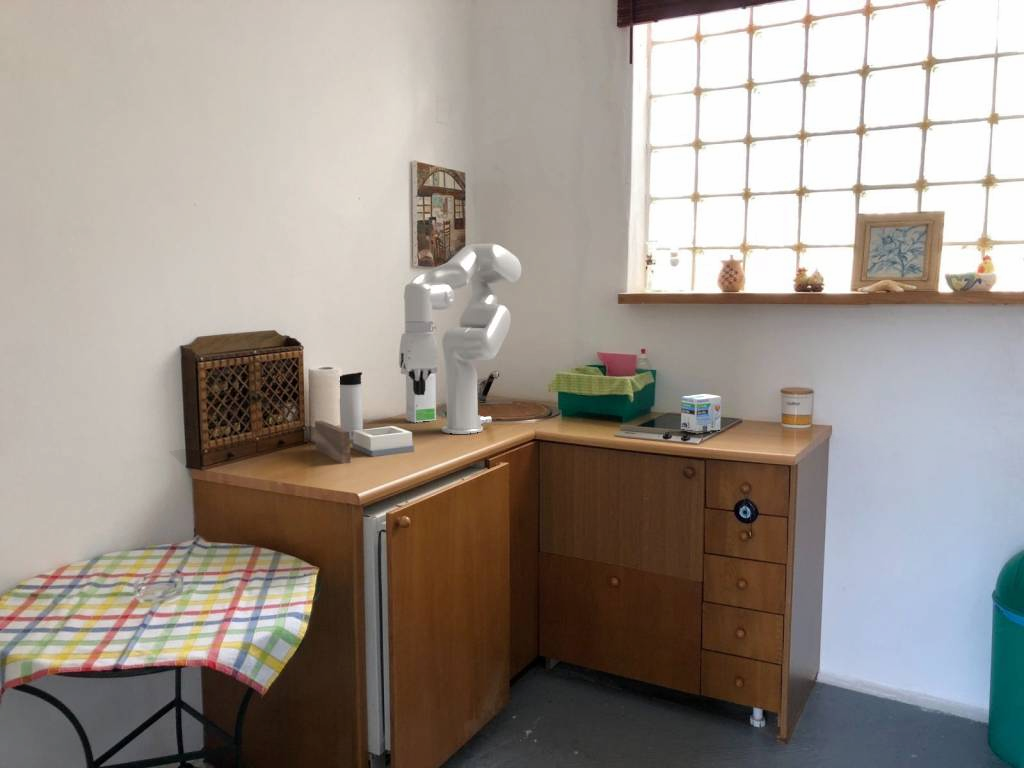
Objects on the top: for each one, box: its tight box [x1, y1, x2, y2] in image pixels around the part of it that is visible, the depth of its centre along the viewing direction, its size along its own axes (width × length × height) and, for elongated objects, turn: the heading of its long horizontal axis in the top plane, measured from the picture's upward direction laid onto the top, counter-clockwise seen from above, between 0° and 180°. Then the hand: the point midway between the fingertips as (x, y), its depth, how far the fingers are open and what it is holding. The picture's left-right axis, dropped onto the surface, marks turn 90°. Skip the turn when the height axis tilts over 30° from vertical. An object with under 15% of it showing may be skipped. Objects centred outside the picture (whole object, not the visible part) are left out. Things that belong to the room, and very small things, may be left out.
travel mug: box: [339, 371, 364, 444], centre depth 228 cm, size 6×7×20 cm
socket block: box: [351, 425, 415, 458], centre depth 216 cm, size 12×14×5 cm
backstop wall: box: [314, 420, 351, 464], centre depth 209 cm, size 2×20×8 cm, turn 33°
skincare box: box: [405, 373, 437, 424], centre depth 262 cm, size 8×7×16 cm
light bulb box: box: [680, 393, 722, 431], centre depth 240 cm, size 11×7×11 cm, turn 123°
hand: (419, 394), depth 221 cm, fingers closed
